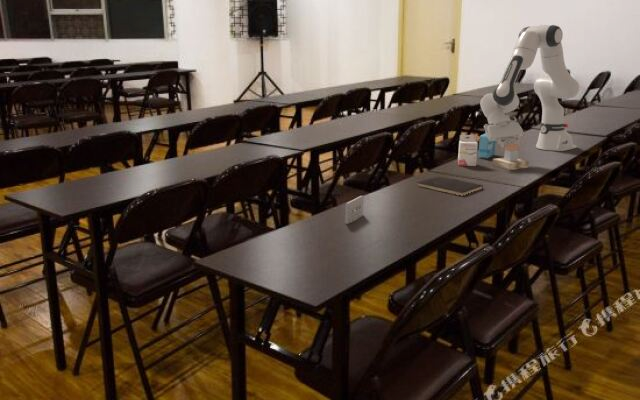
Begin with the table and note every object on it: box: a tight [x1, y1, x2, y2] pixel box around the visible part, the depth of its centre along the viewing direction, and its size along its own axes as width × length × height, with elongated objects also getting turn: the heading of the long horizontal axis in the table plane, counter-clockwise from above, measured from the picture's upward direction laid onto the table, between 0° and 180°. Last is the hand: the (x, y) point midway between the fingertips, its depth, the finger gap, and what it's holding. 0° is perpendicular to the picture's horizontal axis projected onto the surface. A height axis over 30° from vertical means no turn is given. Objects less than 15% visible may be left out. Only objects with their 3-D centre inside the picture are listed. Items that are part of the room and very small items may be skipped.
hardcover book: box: [417, 175, 484, 197], centre depth 255 cm, size 16×23×2 cm
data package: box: [478, 132, 497, 160], centre depth 308 cm, size 12×4×12 cm, turn 144°
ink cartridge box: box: [457, 134, 479, 167], centre depth 291 cm, size 9×5×15 cm, turn 84°
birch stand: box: [491, 157, 530, 171], centre depth 289 cm, size 12×12×3 cm
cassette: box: [344, 195, 364, 225], centre depth 215 cm, size 12×2×8 cm, turn 147°
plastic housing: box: [503, 142, 520, 162], centre depth 287 cm, size 5×4×8 cm
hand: (511, 145), depth 287 cm, fingers open, 8 cm apart
